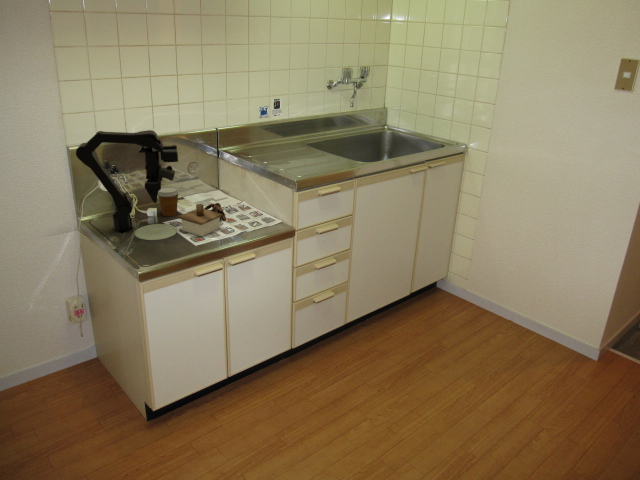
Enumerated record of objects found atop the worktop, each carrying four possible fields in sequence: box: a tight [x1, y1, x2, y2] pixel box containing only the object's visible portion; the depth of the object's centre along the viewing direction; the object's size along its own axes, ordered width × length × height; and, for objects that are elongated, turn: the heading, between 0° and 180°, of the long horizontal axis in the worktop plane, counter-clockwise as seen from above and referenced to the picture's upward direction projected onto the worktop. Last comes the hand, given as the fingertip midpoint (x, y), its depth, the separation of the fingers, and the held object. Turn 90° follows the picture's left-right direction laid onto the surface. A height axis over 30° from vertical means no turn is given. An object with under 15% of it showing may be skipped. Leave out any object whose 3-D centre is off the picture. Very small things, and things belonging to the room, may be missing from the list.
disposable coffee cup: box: [157, 185, 180, 217], centre depth 243 cm, size 10×10×12 cm
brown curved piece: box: [204, 202, 227, 222], centre depth 242 cm, size 12×10×8 cm
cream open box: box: [180, 217, 221, 237], centre depth 229 cm, size 11×11×6 cm
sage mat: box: [134, 223, 178, 241], centre depth 226 cm, size 17×17×1 cm
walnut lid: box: [177, 203, 223, 225], centre depth 227 cm, size 13×13×5 cm
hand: (155, 199), depth 226 cm, fingers open, 9 cm apart
